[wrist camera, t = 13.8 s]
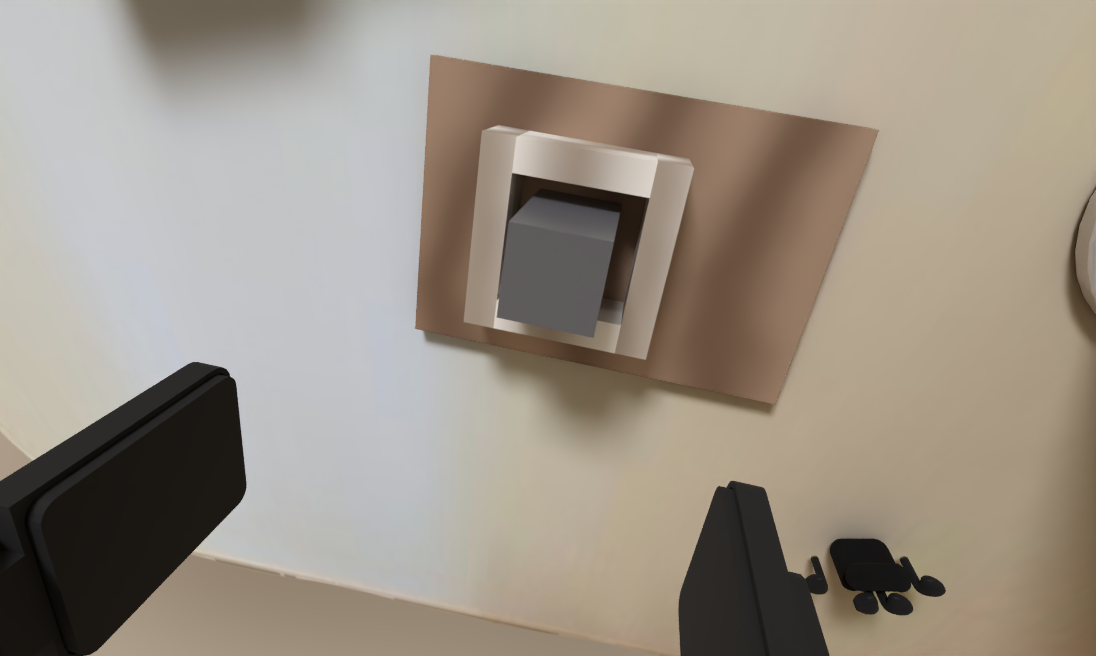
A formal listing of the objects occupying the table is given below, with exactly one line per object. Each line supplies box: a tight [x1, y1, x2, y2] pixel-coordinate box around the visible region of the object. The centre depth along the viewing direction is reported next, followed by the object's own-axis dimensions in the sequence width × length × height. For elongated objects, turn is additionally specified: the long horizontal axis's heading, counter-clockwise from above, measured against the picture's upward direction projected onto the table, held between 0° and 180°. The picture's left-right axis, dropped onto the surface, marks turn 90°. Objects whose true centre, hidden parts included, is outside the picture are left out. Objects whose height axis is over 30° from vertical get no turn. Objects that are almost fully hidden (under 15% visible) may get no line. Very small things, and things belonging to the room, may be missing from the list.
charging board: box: [415, 55, 879, 404], centre depth 27 cm, size 20×14×4 cm
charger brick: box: [497, 188, 622, 338], centre depth 25 cm, size 4×4×7 cm
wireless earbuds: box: [805, 539, 946, 615], centre depth 32 cm, size 7×2×5 cm, turn 98°
